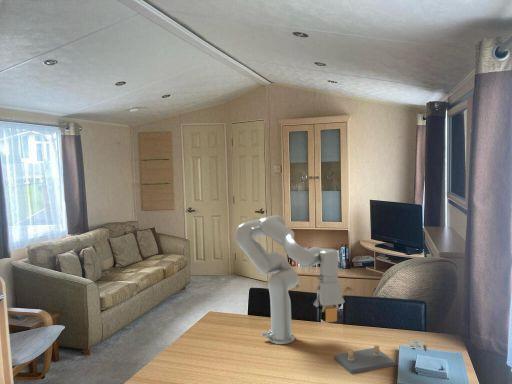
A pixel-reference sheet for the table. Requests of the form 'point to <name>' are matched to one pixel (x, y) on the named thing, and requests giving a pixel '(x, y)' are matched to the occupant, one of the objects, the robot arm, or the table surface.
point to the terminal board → (364, 360)
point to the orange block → (330, 314)
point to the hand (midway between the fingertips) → (329, 318)
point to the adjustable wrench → (417, 344)
